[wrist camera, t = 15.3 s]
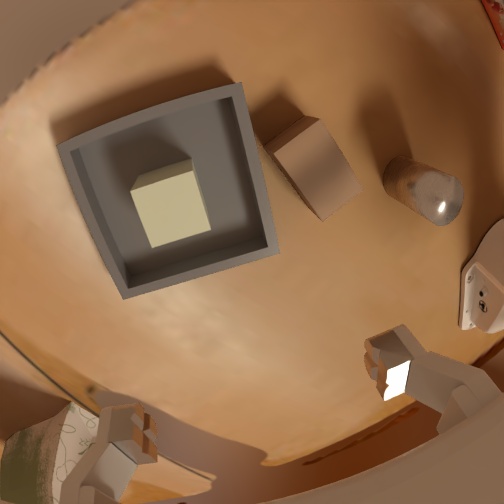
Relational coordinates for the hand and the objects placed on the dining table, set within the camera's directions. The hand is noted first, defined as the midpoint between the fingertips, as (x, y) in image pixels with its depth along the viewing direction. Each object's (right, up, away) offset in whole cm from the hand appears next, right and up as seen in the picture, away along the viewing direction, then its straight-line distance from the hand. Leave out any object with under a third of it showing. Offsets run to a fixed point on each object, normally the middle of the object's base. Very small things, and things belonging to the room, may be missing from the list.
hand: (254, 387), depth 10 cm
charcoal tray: (-7, +10, +19) cm, 23 cm away
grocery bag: (-37, -31, +34) cm, 59 cm away
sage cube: (-7, +10, +18) cm, 22 cm away
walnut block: (+5, +13, +20) cm, 25 cm away
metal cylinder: (+17, +13, +23) cm, 31 cm away
